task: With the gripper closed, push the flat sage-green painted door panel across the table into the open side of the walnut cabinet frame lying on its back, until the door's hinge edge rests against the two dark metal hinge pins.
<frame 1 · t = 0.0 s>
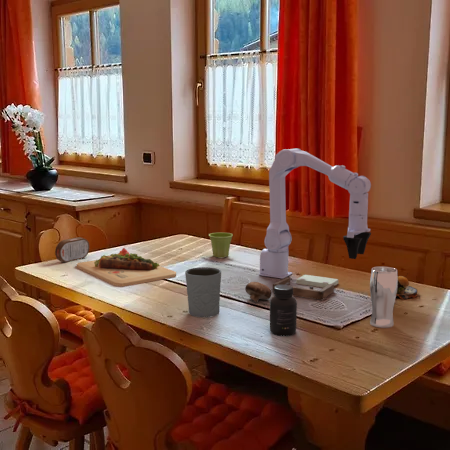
hand: (356, 256, 196), 10 cm above the table, fingers open, 7 cm apart
tin: (73, 260, 233), on the table
door: (317, 285, 201), on the table
burger: (397, 295, 190), on the table
plant pot: (220, 256, 240), on the table
mushroom: (258, 301, 182), on the table
beer glass: (381, 325, 162), on the table
cutting board: (125, 273, 217), on the table
supplement bottle: (282, 332, 155), on the table
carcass: (304, 291, 192), on the table
grey tapered cup: (203, 313, 171), on the table
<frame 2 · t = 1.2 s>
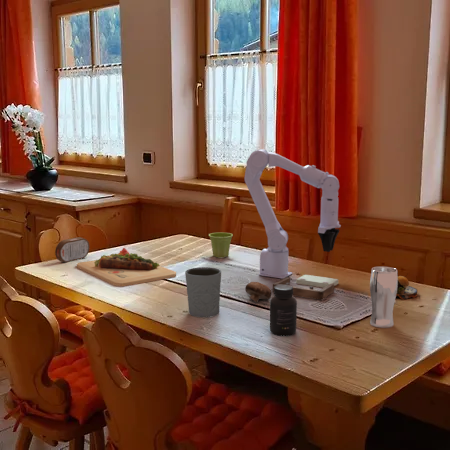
hand: (328, 250, 207), 9 cm above the table, fingers closed
nothing on the table moved.
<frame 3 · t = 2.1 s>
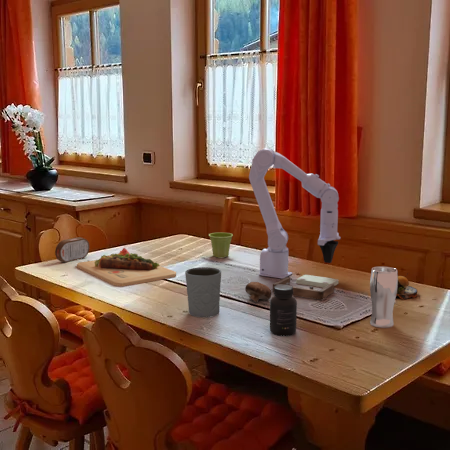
hand: (327, 262, 208), 5 cm above the table, fingers closed
nothing on the table moved.
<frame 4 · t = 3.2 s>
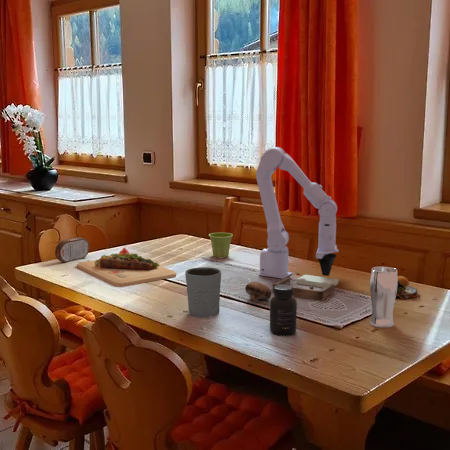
hand: (325, 275, 207), 1 cm above the table, fingers closed
nothing on the table moved.
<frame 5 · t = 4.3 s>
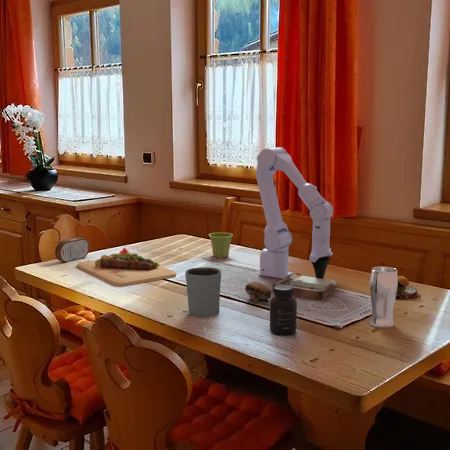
hand: (319, 278, 203), 1 cm above the table, fingers closed
door: (314, 286, 199), on the table
everything else where it was.
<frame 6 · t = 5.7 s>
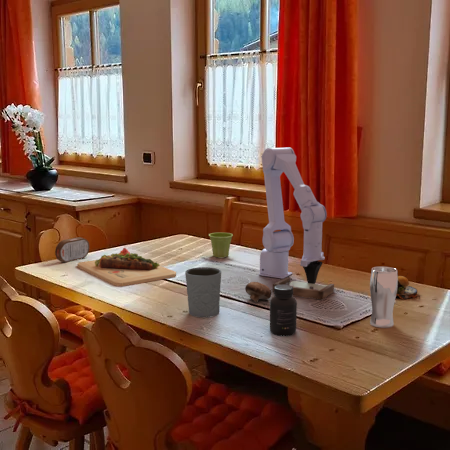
hand: (311, 283, 197), 1 cm above the table, fingers closed
door: (306, 291, 193), on the table
everything else where it was.
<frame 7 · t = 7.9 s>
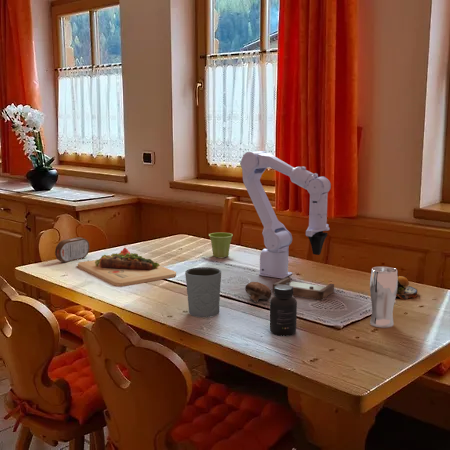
hand: (316, 254, 202), 9 cm above the table, fingers closed
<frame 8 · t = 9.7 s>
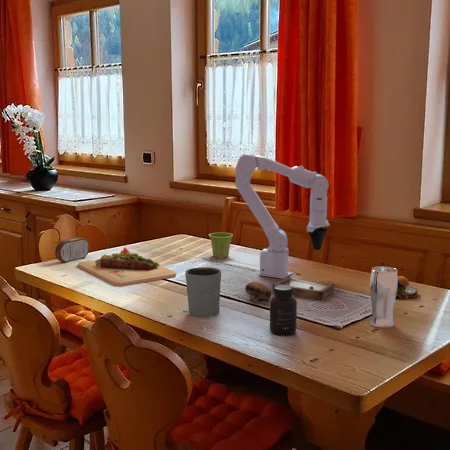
hand: (317, 249, 209), 9 cm above the table, fingers closed
nothing on the table moved.
at the end: door 0.1 cm off-centre on the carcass, point -0.5 cm above the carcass's base; door tilted 1°; door moved 10.3 cm from its start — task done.
